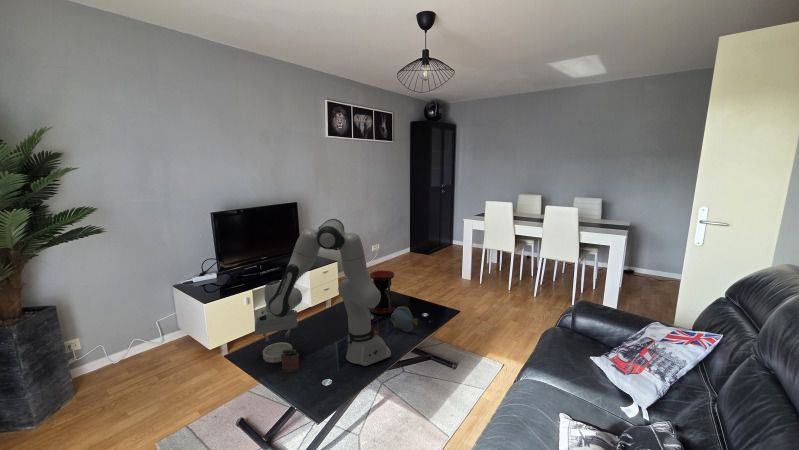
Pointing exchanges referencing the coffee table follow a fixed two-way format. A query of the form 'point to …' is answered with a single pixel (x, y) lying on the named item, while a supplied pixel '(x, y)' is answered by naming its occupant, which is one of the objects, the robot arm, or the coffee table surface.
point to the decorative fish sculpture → (403, 318)
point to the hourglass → (382, 283)
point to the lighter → (290, 360)
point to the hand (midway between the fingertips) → (277, 338)
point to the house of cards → (371, 315)
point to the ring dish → (275, 352)
